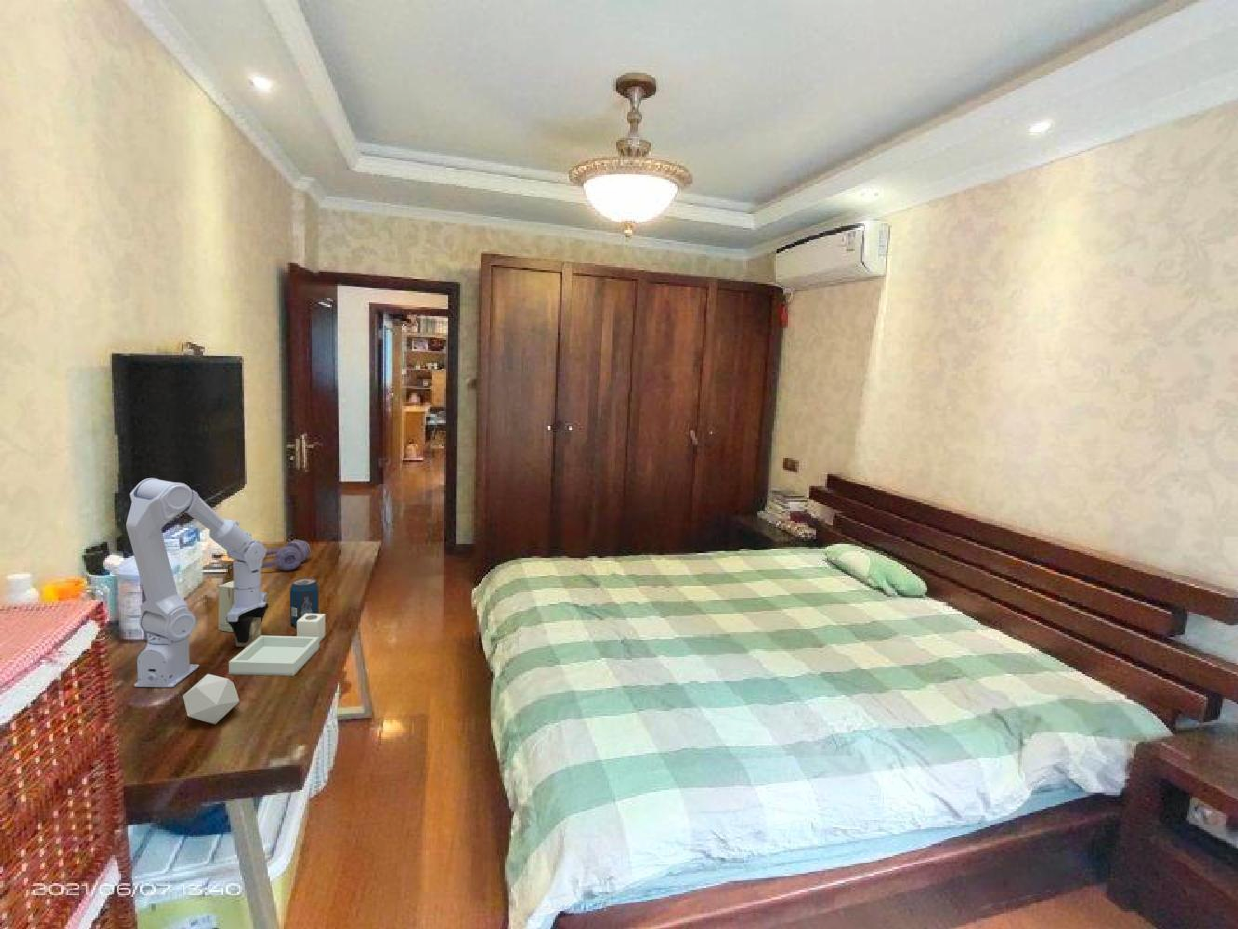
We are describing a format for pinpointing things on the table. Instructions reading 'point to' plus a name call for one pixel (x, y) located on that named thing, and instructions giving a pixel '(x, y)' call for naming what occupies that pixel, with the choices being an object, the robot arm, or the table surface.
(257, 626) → the birch block
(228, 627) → the skincare box
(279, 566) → the headphones
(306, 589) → the soda can
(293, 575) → the table surface
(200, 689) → the die
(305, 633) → the oversize block
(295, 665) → the tray
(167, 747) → the table surface
